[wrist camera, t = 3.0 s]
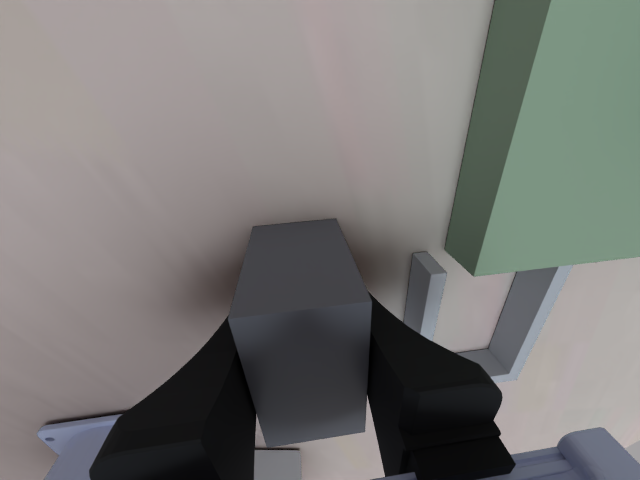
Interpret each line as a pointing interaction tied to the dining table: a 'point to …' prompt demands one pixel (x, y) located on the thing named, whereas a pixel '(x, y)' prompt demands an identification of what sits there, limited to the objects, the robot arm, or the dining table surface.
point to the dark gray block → (303, 332)
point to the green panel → (543, 165)
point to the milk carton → (277, 465)
